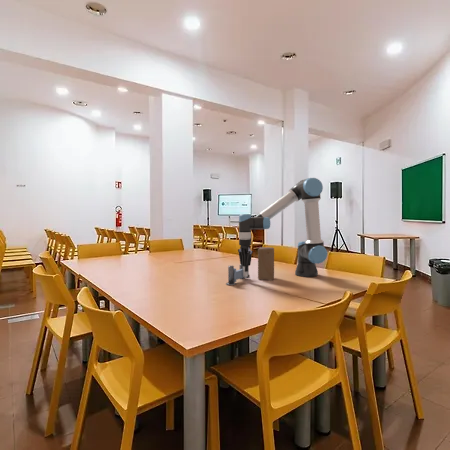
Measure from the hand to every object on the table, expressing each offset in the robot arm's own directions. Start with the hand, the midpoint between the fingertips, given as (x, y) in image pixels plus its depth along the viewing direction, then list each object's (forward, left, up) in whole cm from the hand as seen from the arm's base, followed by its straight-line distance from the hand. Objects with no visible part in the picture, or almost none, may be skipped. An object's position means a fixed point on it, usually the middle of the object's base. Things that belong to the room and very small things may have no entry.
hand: (245, 276), depth 194 cm
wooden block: (-14, -6, -3) cm, 16 cm away
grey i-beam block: (+3, -1, -2) cm, 4 cm away
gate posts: (+6, 0, -3) cm, 7 cm away
